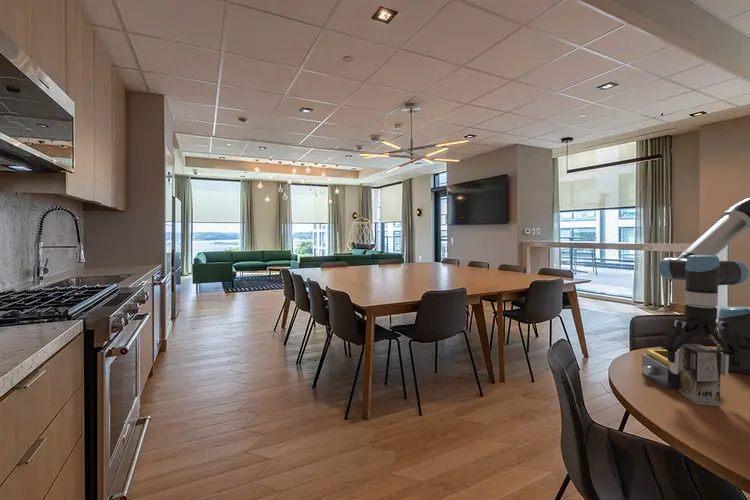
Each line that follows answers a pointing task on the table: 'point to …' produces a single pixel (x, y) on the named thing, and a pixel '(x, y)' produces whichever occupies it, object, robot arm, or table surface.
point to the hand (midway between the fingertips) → (698, 373)
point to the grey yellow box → (660, 368)
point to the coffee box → (700, 374)
